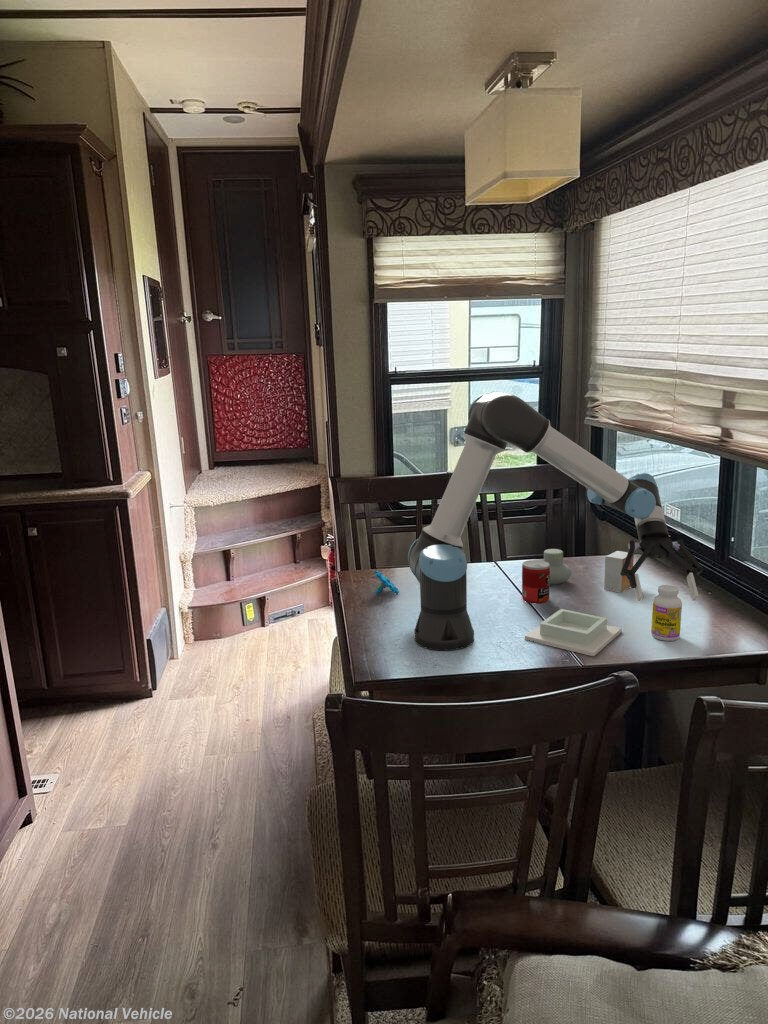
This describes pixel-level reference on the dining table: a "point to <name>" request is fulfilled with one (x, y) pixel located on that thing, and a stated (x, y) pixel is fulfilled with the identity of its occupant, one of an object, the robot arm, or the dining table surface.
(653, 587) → the dining table surface
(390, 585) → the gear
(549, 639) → the tray
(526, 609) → the dining table surface
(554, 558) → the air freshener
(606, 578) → the small box
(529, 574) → the canned food
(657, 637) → the supplement bottle
